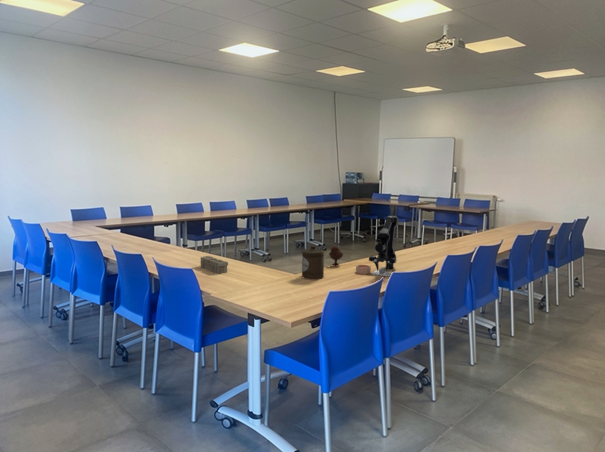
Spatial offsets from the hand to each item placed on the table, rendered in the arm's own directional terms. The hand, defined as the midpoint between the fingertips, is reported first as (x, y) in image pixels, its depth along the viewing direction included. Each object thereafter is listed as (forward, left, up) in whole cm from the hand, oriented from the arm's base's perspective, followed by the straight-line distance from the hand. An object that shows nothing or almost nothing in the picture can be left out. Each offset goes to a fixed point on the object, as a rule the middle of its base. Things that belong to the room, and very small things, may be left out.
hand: (382, 271), depth 305 cm
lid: (0, 0, -1) cm, 1 cm away
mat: (0, 0, -2) cm, 2 cm away
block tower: (+43, -113, -2) cm, 121 cm away
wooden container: (+30, -41, -2) cm, 51 cm away
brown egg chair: (-12, -39, -2) cm, 41 cm away
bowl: (+3, -13, -2) cm, 13 cm away
